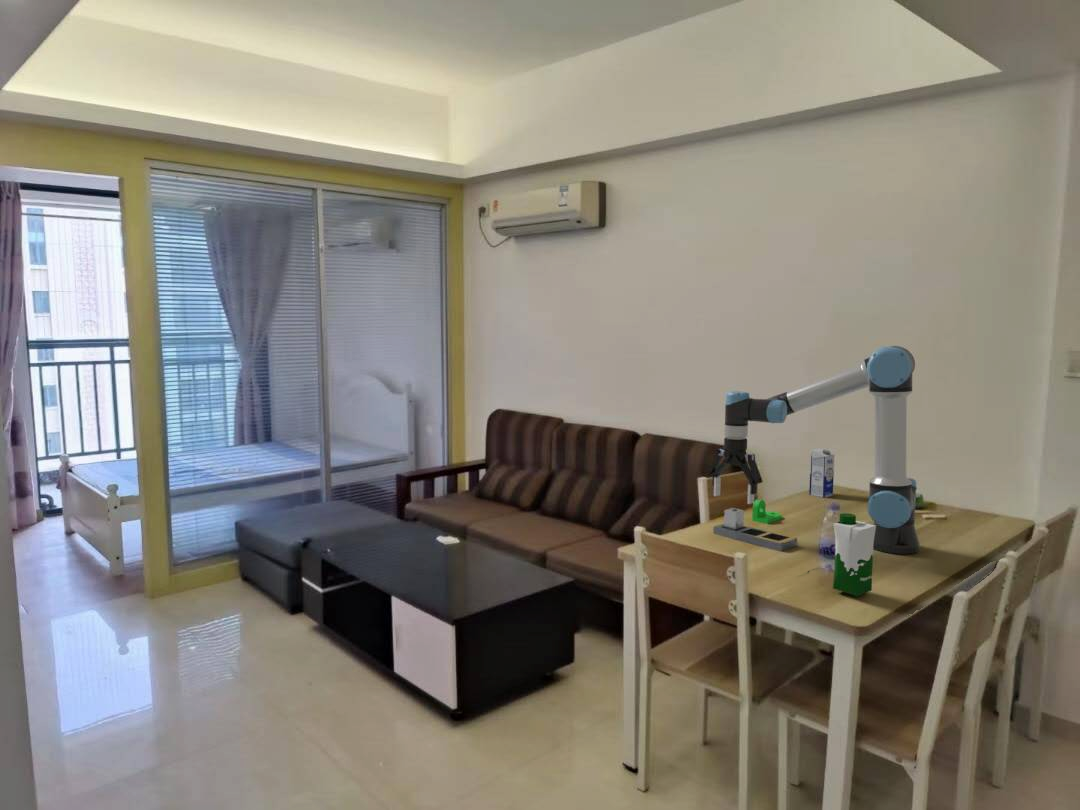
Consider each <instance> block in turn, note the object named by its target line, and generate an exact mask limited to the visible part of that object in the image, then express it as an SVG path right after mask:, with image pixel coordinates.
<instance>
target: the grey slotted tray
mask: <svg viewBox="0 0 1080 810" xmlns="http://www.w3.org/2000/svg"><path fill="white" fill-rule="evenodd" d="M712 529H713V530H712V531H713V532H712V533H713V534H714V535H718V536H721V537H725V538H727V539H730V540H731V539H732V540H735V541H739V542H743V543H748V544H751V545H755V546H759V547H763V548H766V549H770V550H774V551H778V552H783V551H786V550H789V549H792V548H795V547H797V546H798V537H796V536H791V535H787V534H785V533H784V534H783V533H779V532H775V531H768V530H765V529H759V528H756V527H750V526H747V525H743V529H742V530H738V531H734V530H729V529H725V528H724V523H721V524H718V525H715V526H713V528H712Z"/></svg>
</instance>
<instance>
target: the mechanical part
mask: <svg viewBox="0 0 1080 810" xmlns="http://www.w3.org/2000/svg"><path fill="white" fill-rule="evenodd" d="M766 506H767V505H766V502H765V500H763V499H758V498H757V499H754V503H752V521H753V522H757V523H762V524H765V523H766V524H765V525H768V523H769V524H771V522H772V523H774V522H777V521H780V520H781V519H782V513H780V512H778V511H777V512H775V511H772V510H769V511H766ZM779 519H780V520H779ZM776 520H777V521H776ZM773 521H774V522H773Z"/></svg>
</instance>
